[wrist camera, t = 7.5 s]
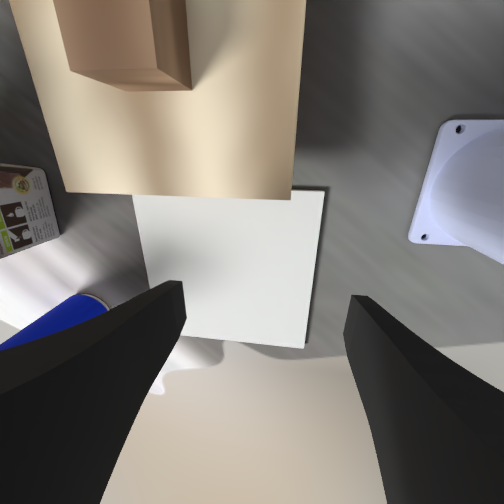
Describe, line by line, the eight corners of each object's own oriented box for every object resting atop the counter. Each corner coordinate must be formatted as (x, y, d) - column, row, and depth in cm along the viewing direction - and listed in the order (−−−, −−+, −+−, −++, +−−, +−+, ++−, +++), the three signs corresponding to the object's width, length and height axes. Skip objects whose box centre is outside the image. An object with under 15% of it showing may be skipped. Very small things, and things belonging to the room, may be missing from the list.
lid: (321, -203, 8) (352, -519, 4) (290, 197, 14) (292, 216, 10) (-19, -149, 10) (-218, -344, 6) (76, 190, 16) (6, 203, 12)
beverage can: (63, 290, 25) (-211, 464, 11) (106, 290, 24) (-131, 477, 10) (81, 329, 27) (-133, 516, 13) (121, 330, 26) (-61, 531, 12)
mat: (323, 190, 17) (324, 191, 17) (303, 344, 23) (303, 348, 23) (133, 184, 19) (130, 185, 19) (160, 329, 25) (158, 332, 25)
